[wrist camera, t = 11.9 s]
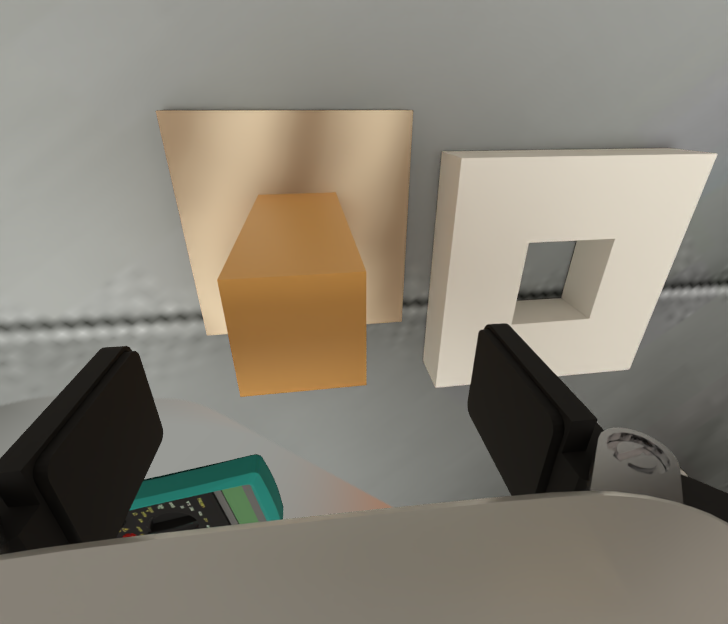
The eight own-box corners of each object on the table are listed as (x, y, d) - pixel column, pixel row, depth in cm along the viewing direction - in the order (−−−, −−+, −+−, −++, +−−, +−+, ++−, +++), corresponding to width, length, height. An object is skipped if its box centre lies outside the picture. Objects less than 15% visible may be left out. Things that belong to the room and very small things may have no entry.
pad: (408, 110, 20) (413, 110, 19) (398, 314, 25) (401, 321, 25) (162, 110, 18) (155, 110, 17) (210, 327, 24) (206, 335, 23)
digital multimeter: (71, 489, 29) (48, 526, 27) (263, 446, 30) (259, 478, 27) (116, 543, 33) (100, 580, 30) (287, 503, 34) (285, 536, 31)
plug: (335, 192, 20) (366, 271, 11) (338, 263, 22) (366, 384, 13) (258, 194, 20) (217, 279, 10) (267, 267, 22) (240, 396, 12)
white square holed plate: (669, 148, 23) (717, 153, 20) (600, 345, 29) (629, 369, 27) (441, 151, 21) (461, 158, 18) (422, 360, 28) (435, 387, 25)
